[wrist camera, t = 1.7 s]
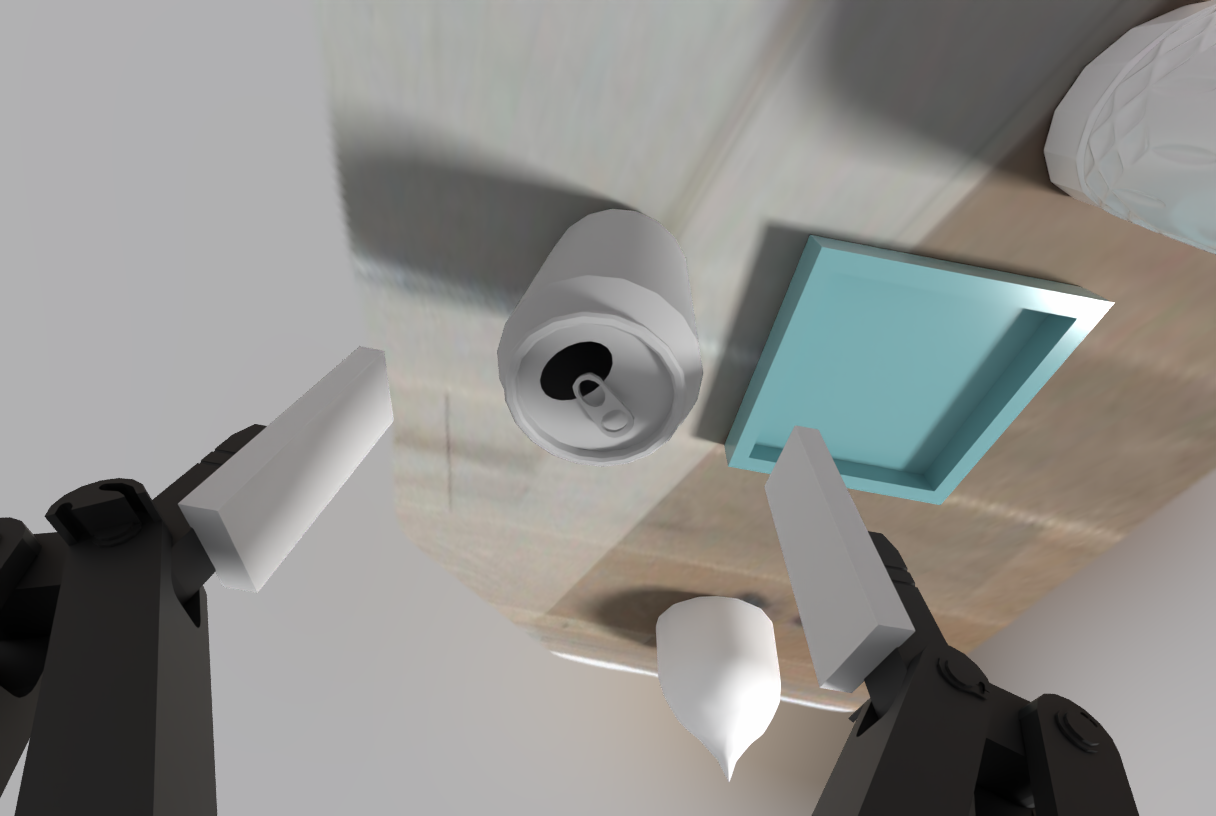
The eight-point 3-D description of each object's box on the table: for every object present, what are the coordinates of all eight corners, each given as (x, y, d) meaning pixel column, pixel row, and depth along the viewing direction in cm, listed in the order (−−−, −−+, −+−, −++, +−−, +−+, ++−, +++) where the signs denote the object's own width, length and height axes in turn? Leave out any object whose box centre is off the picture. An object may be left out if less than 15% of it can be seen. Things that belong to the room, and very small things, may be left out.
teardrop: (707, 668, 49) (720, 814, 39) (632, 624, 45) (625, 773, 35) (797, 633, 43) (838, 792, 34) (720, 579, 40) (740, 741, 30)
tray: (809, 234, 23) (822, 246, 21) (1080, 286, 23) (1114, 302, 21) (724, 445, 31) (728, 466, 29) (925, 481, 31) (940, 504, 30)
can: (627, 170, 22) (602, 240, 12) (716, 287, 25) (752, 420, 15) (522, 268, 25) (437, 385, 16) (611, 362, 28) (586, 510, 18)
